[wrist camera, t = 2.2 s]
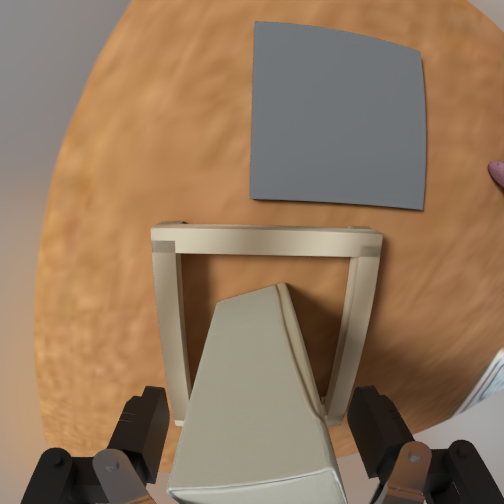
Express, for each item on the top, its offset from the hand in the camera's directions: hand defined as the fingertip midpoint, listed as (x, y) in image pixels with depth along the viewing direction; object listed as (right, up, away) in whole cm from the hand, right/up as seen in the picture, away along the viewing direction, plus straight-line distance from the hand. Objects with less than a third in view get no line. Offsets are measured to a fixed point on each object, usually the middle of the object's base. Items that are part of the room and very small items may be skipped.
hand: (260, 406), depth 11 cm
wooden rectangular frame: (0, +1, +6) cm, 7 cm away
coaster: (+5, +14, +3) cm, 15 cm away
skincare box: (0, +2, +7) cm, 7 cm away
